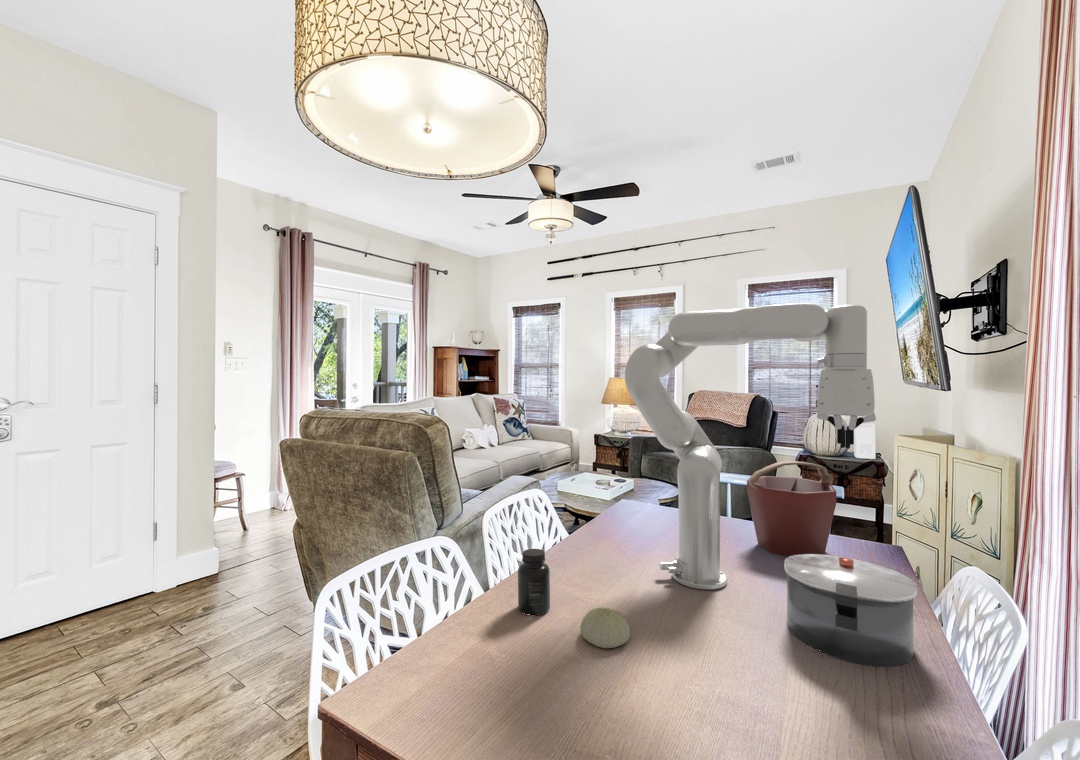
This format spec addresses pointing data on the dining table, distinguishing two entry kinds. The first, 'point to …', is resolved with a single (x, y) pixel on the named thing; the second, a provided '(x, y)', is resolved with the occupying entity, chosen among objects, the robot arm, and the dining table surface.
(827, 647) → the cooker pot
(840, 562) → the cooker lid
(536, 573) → the supplement bottle
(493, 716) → the dining table surface
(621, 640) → the sea urchin shell
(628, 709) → the dining table surface
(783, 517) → the bucket
